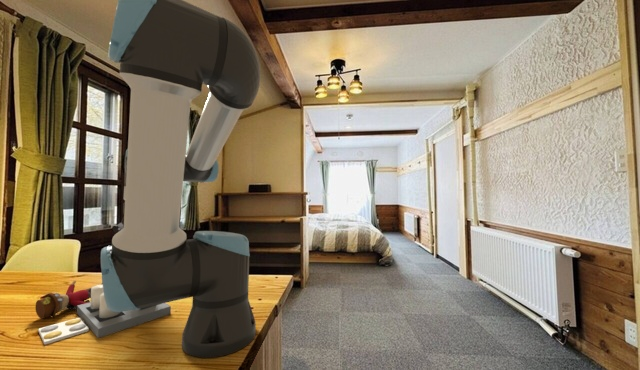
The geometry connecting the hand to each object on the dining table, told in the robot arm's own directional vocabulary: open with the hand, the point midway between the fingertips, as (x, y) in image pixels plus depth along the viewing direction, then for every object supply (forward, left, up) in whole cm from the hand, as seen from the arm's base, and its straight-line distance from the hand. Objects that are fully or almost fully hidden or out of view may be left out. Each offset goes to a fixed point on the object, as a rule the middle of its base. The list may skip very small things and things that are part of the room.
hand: (136, 282), depth 75 cm
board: (-4, +4, -6) cm, 8 cm away
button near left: (-8, +8, -4) cm, 12 cm away
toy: (+10, +11, -6) cm, 16 cm away
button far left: (0, +8, -4) cm, 9 cm away
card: (-4, +16, -6) cm, 17 cm away
